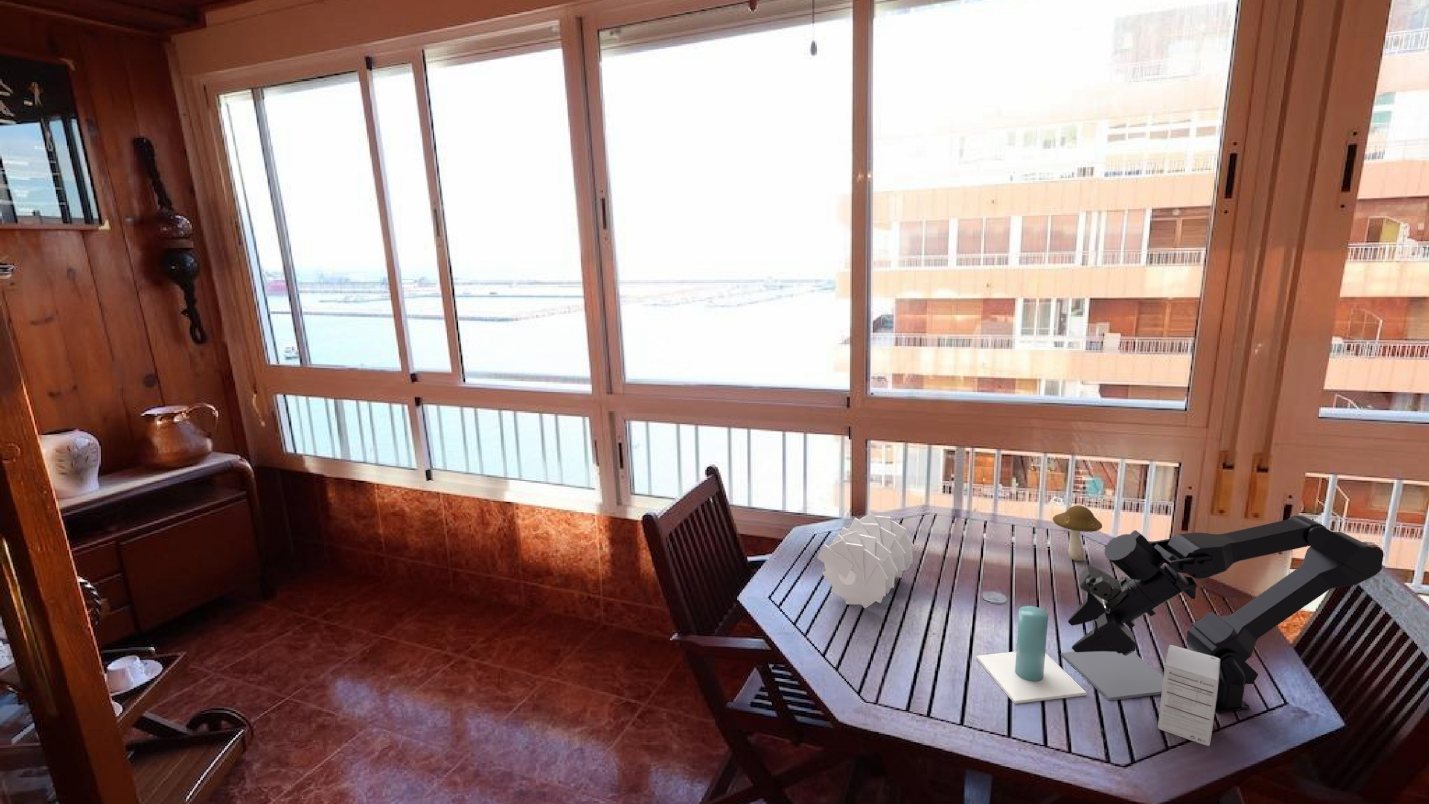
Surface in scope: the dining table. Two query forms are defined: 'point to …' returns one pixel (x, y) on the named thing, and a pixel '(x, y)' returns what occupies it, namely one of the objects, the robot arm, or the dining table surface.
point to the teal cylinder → (1031, 643)
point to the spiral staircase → (866, 559)
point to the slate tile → (1116, 674)
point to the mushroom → (1077, 527)
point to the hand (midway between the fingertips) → (1071, 636)
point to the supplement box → (1189, 694)
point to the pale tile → (1022, 690)
